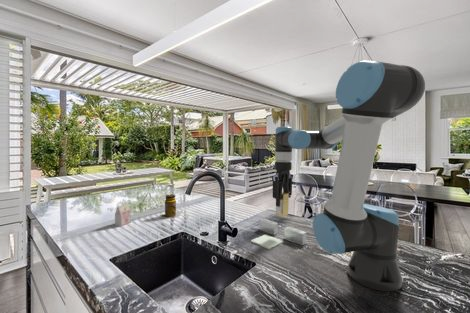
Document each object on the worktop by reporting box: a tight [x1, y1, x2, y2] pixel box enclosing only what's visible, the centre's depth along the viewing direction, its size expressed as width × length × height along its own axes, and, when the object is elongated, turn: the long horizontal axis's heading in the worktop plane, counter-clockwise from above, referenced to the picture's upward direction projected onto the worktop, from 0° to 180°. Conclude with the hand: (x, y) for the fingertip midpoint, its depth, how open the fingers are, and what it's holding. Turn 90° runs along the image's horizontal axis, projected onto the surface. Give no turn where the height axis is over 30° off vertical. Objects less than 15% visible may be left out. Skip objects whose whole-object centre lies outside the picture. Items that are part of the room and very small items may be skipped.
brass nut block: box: [275, 191, 290, 218], centre depth 108 cm, size 4×4×10 cm
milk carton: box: [114, 203, 132, 228], centre depth 122 cm, size 4×7×10 cm, turn 161°
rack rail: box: [258, 218, 308, 246], centre depth 109 cm, size 24×3×5 cm, turn 43°
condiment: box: [159, 194, 178, 219], centre depth 136 cm, size 7×8×12 cm
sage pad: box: [250, 233, 285, 250], centre depth 103 cm, size 10×10×1 cm
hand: (282, 212), depth 109 cm, fingers closed on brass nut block, 4 cm apart
